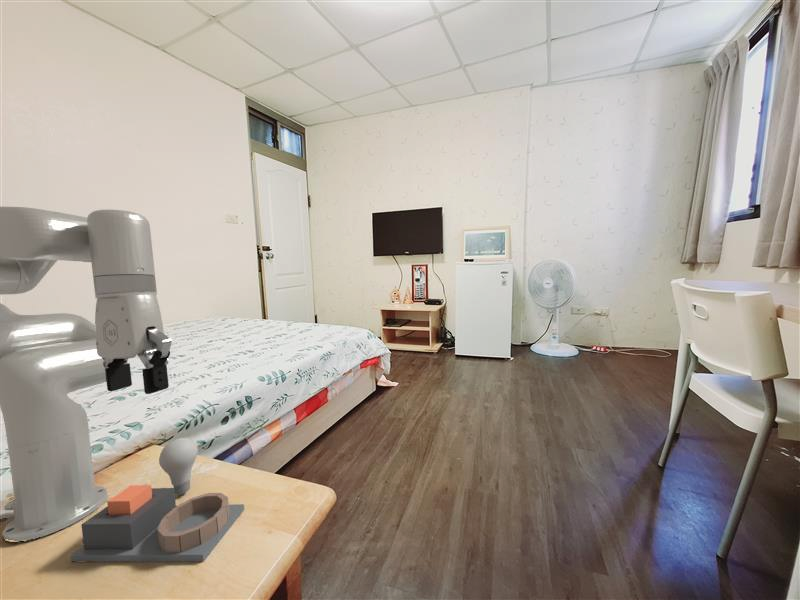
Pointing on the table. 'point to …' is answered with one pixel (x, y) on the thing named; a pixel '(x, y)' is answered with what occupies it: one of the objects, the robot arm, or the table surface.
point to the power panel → (153, 541)
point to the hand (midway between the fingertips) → (138, 389)
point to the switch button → (129, 500)
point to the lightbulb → (179, 463)
